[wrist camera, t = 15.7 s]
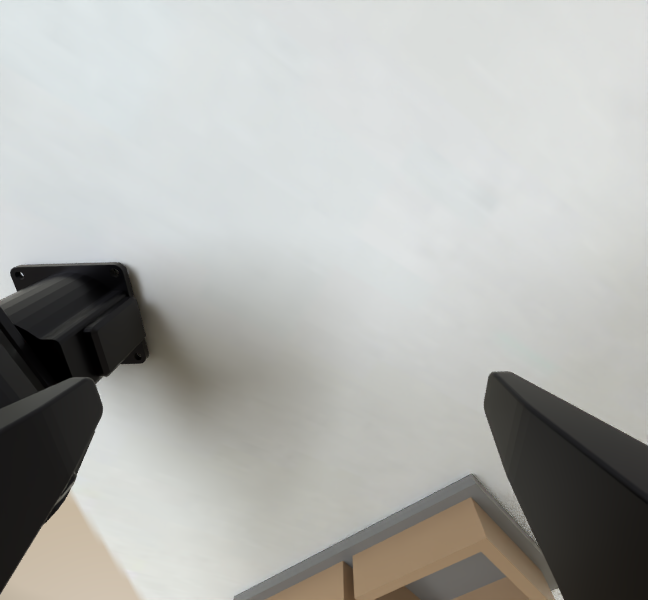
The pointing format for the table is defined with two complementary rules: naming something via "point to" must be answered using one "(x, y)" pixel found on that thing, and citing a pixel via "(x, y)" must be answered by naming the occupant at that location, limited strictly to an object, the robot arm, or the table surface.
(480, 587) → the well tray
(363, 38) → the table surface
